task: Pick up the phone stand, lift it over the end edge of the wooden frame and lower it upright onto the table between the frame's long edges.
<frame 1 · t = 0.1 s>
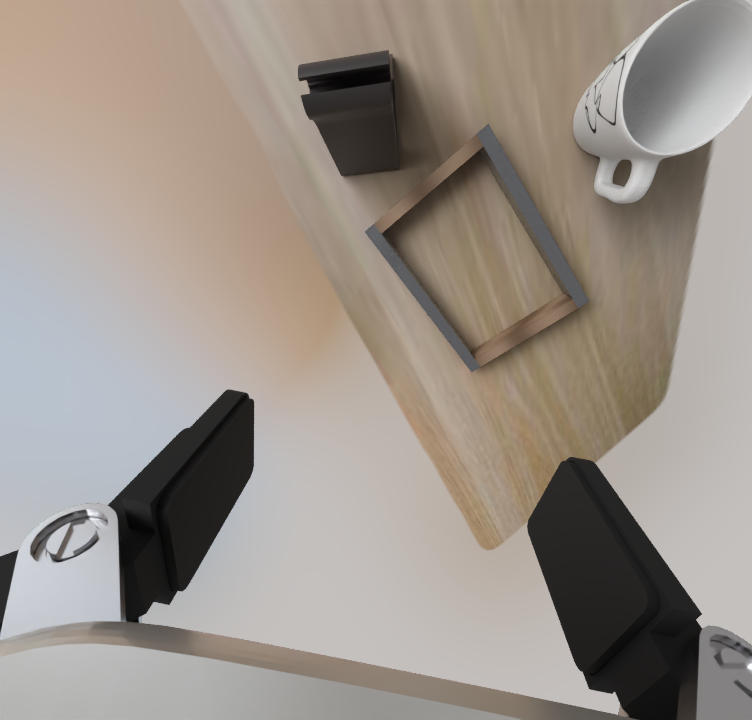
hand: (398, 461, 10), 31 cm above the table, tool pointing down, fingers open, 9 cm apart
phone stand: (365, 120, 32), on the table
mug: (602, 135, 31), on the table
wooden frame: (474, 263, 37), on the table
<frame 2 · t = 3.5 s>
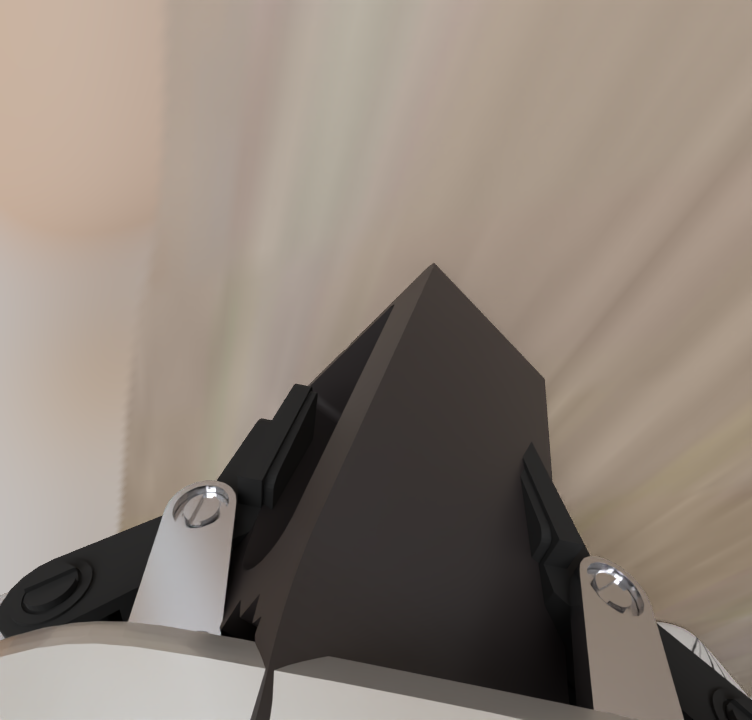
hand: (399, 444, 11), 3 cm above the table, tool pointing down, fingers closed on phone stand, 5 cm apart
phone stand: (401, 391, 14), on the table, touching gripper
mug: (612, 650, 20), on the table
when the fingers open (4 cm above the table, at t = 9.0 s): phone stand drops 1 cm, resting in wooden frame.
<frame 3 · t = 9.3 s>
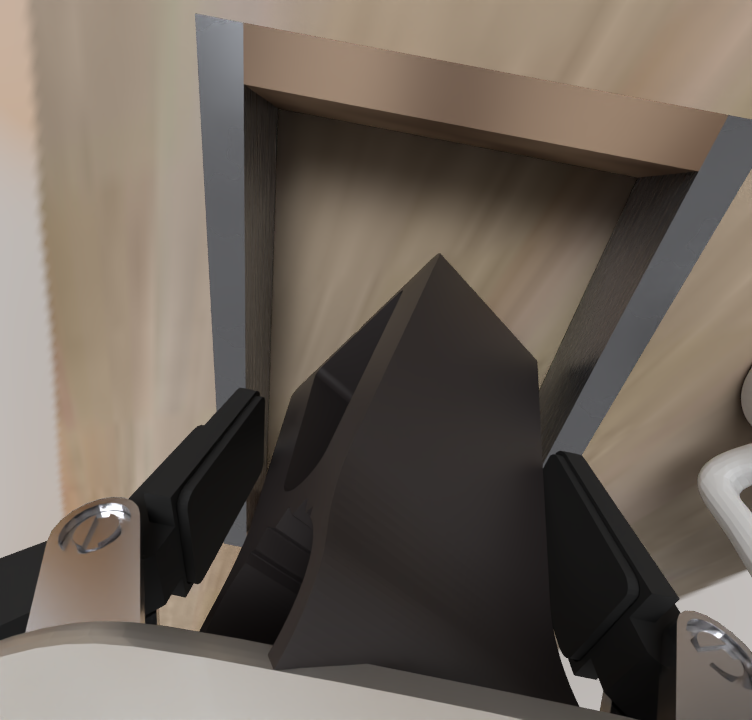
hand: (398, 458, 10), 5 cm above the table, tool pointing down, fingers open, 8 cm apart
phone stand: (406, 372, 15), resting in wooden frame
wooden frame: (401, 378, 15), on the table
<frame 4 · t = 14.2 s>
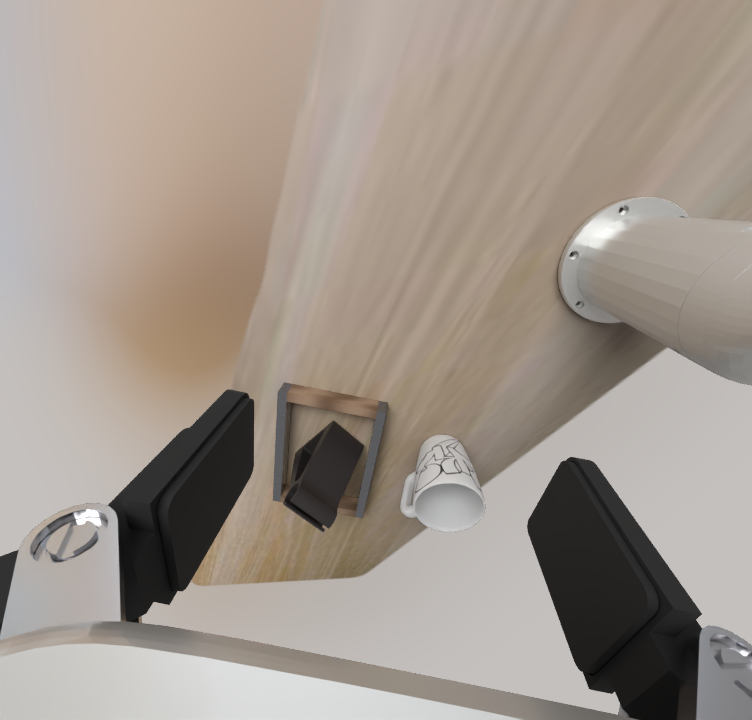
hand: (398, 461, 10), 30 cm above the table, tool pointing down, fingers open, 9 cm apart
phone stand: (329, 447, 50), resting in wooden frame
mug: (433, 454, 49), on the table
wooden frame: (328, 449, 50), on the table
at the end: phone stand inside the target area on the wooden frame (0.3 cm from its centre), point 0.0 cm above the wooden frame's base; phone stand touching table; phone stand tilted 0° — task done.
